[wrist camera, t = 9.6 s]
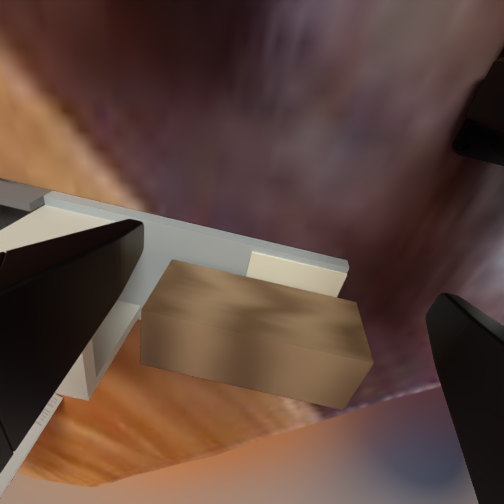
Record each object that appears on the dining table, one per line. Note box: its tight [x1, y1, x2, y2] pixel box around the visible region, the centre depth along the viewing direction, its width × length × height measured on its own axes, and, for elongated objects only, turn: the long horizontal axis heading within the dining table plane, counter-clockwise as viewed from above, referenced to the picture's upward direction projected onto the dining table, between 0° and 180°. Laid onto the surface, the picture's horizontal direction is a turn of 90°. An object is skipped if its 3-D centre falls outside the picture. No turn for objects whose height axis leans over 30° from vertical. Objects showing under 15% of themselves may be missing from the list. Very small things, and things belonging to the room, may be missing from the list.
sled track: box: [0, 178, 349, 401], centre depth 21 cm, size 27×10×9 cm, turn 78°
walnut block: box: [140, 259, 374, 410], centre depth 22 cm, size 14×5×6 cm, turn 78°
